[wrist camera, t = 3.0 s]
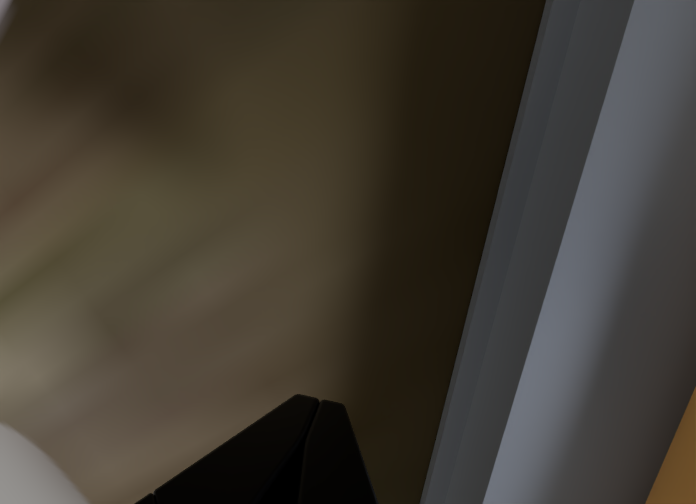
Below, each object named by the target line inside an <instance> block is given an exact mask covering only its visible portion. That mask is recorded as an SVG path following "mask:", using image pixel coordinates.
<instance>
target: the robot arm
mask: <svg viewBox="0 0 696 504" xmlns="http://www.w3.org/2000/svg"><path fill="white" fill-rule="evenodd" d="M135 504H378V501H377V498H376V495H375V492H374V489H373V486H372V484H371V481H370V478H369V475H368V472H367V469H366V466H365V463H364V460H363V457H362V454H361V451H360V449H359V446H358V443H357V440H356V437H355V434H354V431H353V428H352V425H351V422H350V419H349V416H348V414H347V411H346V408H345V406H344V405H343V404H342V403H337V402H333V401H328V400H322V401H320V403H319V400H318V399H317V398H314V397H310V396H305V395H301V394H296V395H294V396H293V397H291V398H290V399H288V400H287V401H285V402H284V403H282V404H281V405H279V406H278V407H276V408H275V409H273V410H272V411H271V412H269V413H268V414H266V415H265V416H263V417H262V418H260V419H259V420H257V421H256V422H254V423H253V424H251V425H250V426H248V427H247V428H246V429H244V430H243V431H241V432H240V433H238V434H237V435H235V436H234V437H232V438H231V439H229V440H228V441H226V442H225V443H223V444H222V445H220V446H219V447H218V448H216V449H215V450H213V451H212V452H210V453H209V454H207V455H206V456H204V457H203V458H201V459H200V460H198V461H197V462H195V463H194V464H193V465H191V466H190V467H188V468H187V469H185V470H184V471H182V472H181V473H179V474H178V475H176V476H175V477H173V478H172V479H170V480H169V481H167V482H166V483H165V484H163V485H162V486H160V487H159V488H157V489H156V490H155V491H154V492H153V494H152V493H150V494H148V495H147V496H145V497H144V498H142V499H141V500H139V501H138V502H136V503H135Z"/></svg>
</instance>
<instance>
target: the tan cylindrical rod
mask: <svg viewBox="0 0 696 504" xmlns="http://www.w3.org/2000/svg"><path fill="white" fill-rule="evenodd" d="M645 504H696V387H695V389H694V392H693V394H692V396H691V399H690V401H689V403H688V405H687V408H686V410H685V412H684V415H683V417H682V419H681V422H680V424H679V426H678V429H677V431H676V433H675V436H674V438H673V440H672V443H671V445H670V447H669V450H668V452H667V454H666V457H665V459H664V461H663V463H662V466H661V468H660V470H659V473H658V475H657V477H656V480H655V482H654V484H653V487H652V489H651V491H650V494H649V496H648V498H647V501H646V503H645Z"/></svg>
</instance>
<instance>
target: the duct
mask: <svg viewBox="0 0 696 504" xmlns="http://www.w3.org/2000/svg"><path fill="white" fill-rule="evenodd" d="M695 387H696V0H546V3H545V7H544V11H543V15H542V19H541V23H540V27H539V31H538V35H537V39H536V43H535V47H534V51H533V55H532V59H531V63H530V67H529V71H528V75H527V79H526V83H525V87H524V91H523V95H522V98H521V102H520V106H519V110H518V114H517V118H516V122H515V126H514V130H513V134H512V138H511V142H510V146H509V150H508V154H507V158H506V162H505V166H504V170H503V174H502V178H501V182H500V186H499V190H498V194H497V198H496V202H495V206H494V210H493V214H492V218H491V222H490V226H489V230H488V234H487V238H486V242H485V246H484V250H483V254H482V258H481V262H480V266H479V270H478V274H477V278H476V282H475V286H474V289H473V293H472V297H471V301H470V305H469V309H468V313H467V317H466V321H465V325H464V329H463V333H462V337H461V341H460V345H459V349H458V353H457V357H456V361H455V365H454V369H453V373H452V377H451V381H450V385H449V389H448V393H447V397H446V401H445V405H444V409H443V413H442V417H441V421H440V425H439V429H438V433H437V437H436V441H435V445H434V449H433V453H432V457H431V461H430V465H429V469H428V473H427V476H426V480H425V484H424V488H423V492H422V496H421V500H420V504H645V503H646V501H647V498H648V496H649V494H650V491H651V489H652V487H653V484H654V482H655V480H656V477H657V475H658V473H659V470H660V468H661V466H662V463H663V461H664V459H665V457H666V454H667V452H668V450H669V447H670V445H671V443H672V440H673V438H674V436H675V433H676V431H677V429H678V426H679V424H680V422H681V419H682V417H683V415H684V412H685V410H686V408H687V405H688V403H689V401H690V399H691V396H692V394H693V392H694V389H695Z"/></svg>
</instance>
